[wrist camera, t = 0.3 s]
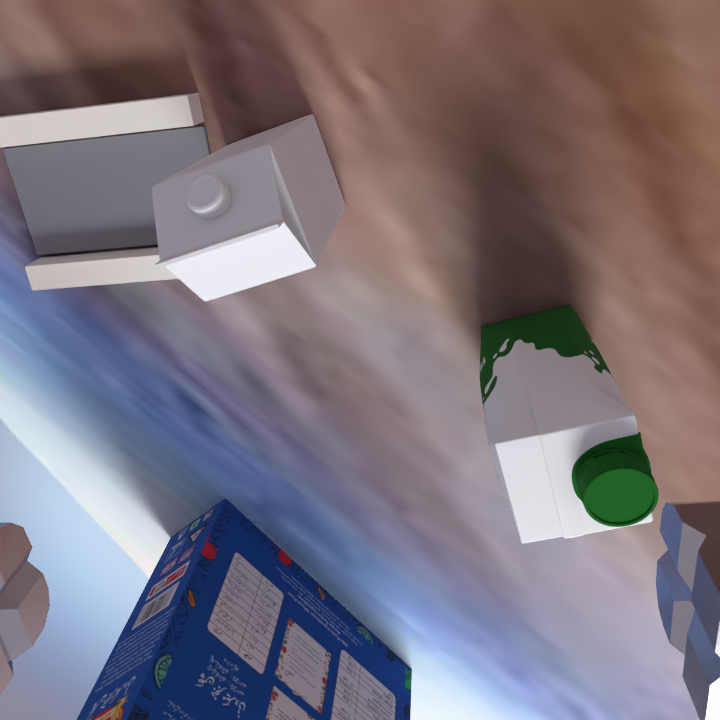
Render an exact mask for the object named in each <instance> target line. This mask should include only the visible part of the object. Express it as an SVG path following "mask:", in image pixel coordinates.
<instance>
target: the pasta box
mask: <svg viewBox="0 0 720 720" xmlns="http://www.w3.org/2000/svg"><path fill="white" fill-rule="evenodd" d="M411 675H412V669H411V668H410V667H408V666H407V665H406V664H405V663H404V662H403V661H402V660H401V659H400V658H399V657H398V656H396V655H395V654H394V653H393V652H392V651H391V650H390V649H389V648H388V647H387V646H386V645H384V644H383V643H382V642H381V641H380V640H379V639H378V638H377V637H376V636H375V635H374V634H372V633H371V632H370V631H369V630H368V629H367V628H366V627H365V626H364V625H363V624H362V623H361V622H359V621H358V620H357V619H356V618H355V617H354V616H353V615H352V614H351V613H350V612H349V611H347V610H346V609H345V608H344V607H343V606H342V605H341V604H340V603H339V602H338V601H337V600H335V599H334V598H333V597H332V596H331V595H330V594H329V593H328V592H327V591H326V590H325V589H323V588H322V587H321V586H320V585H319V584H318V583H317V582H316V581H315V580H314V579H313V578H311V577H310V576H309V575H308V574H307V573H306V572H305V571H304V570H303V569H302V568H301V567H299V566H298V565H297V564H296V563H295V562H294V561H293V560H292V559H291V558H290V557H289V556H288V555H286V554H285V553H284V552H283V551H282V550H281V549H280V548H279V547H278V546H277V545H276V544H274V543H273V542H272V541H271V540H270V539H269V538H268V537H267V536H266V535H265V534H264V533H262V532H261V531H260V530H259V529H258V528H257V527H256V526H255V525H254V524H253V523H252V522H250V521H249V520H248V519H247V518H246V517H245V516H244V515H243V514H242V513H241V512H240V511H238V510H237V509H236V508H235V507H234V506H233V505H232V504H231V503H230V502H229V501H228V500H227V499H224V500H222V501H221V502H220V503H218V504H217V505H216V506H214V507H213V508H211V509H210V510H209V511H207V512H206V513H205V514H203V515H202V516H200V517H199V518H198V519H196V520H195V521H193V522H192V523H191V524H189V525H188V526H187V527H185V528H184V529H182V530H181V531H180V532H178V533H177V534H175V535H174V536H173V537H171V538H170V540H169V542H168V544H167V546H166V548H165V550H164V552H163V554H162V556H161V558H160V560H159V562H158V564H157V565H156V567H155V569H154V571H153V573H152V575H151V577H150V579H149V581H148V583H147V585H146V587H145V589H144V591H143V593H142V594H141V596H140V598H139V601H138V602H137V604H136V606H135V608H134V610H133V612H132V614H131V616H130V618H129V620H128V622H127V623H126V626H125V627H124V629H123V631H122V633H121V635H120V637H119V639H118V641H117V643H116V645H115V647H114V649H113V651H112V652H111V654H110V656H109V658H108V660H107V662H106V664H105V666H104V668H103V670H102V672H101V674H100V676H99V678H98V680H97V681H96V683H95V686H94V687H93V689H92V691H91V693H90V695H89V697H88V699H87V701H86V703H85V705H84V707H83V709H82V710H81V712H80V715H79V716H78V718H77V720H410V706H411Z"/></svg>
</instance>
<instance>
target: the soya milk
mask: <svg viewBox="0 0 720 720" xmlns="http://www.w3.org/2000/svg"><path fill="white" fill-rule="evenodd" d="M480 385H481V394H482V401H483V409H484V416H485V423H486V431H487V438H488V443H489V448H490V451H491V454H492V457H493V461H494V464H495V468H496V471H497V475H498V479H499V481H500V484H501V487H502V490H503V493H504V495H505V498H506V501H507V503H508V506H509V509H510V512H511V514H512V517H513V520H514V523H515V526H516V528H517V531H518V534H519V537H520V540H521V543H529V542H535V541H540V540H546V539H552V538H557V537H563V538H572V537H578V536H582V535H584V534H589V533H594V532H600V531H605V530H611V529H616V528H621V527H627V526H632V525H637V524H643V523H648V522H652V520H653V515H652V511H653V510H654V508H655V507H656V504H657V502H658V495H659V494H658V488H657V485H656V483H655V481H654V478H653V476H652V474H651V467H650V462H649V459H648V456H647V454H646V452H645V450H644V449H643V445H642V439H641V434H640V432H639V433H638V428H637V422H636V416H635V414H634V413H633V412H632V411H631V410H630V409H629V407H628V406H627V404H626V402H625V400H624V398H623V396H622V394H621V392H620V390H619V388H618V387H617V385H616V383H615V381H614V379H613V377H612V375H611V373H610V371H609V369H608V367H607V366H606V364H605V362H604V360H603V358H602V356H601V354H600V352H599V350H598V349H597V347H596V345H595V343H594V342H593V340H592V339H591V337H590V335H589V334H588V332H587V331H586V329H585V327H584V326H583V324H582V323H581V321H580V319H579V318H578V316H577V315H576V313H575V311H574V310H573V308H572V307H571V305H567V306H563V307H559V308H555V309H551V310H547V311H543V312H539V313H535V314H531V315H526V316H522V317H518V318H514V319H510V320H506V321H502V322H498V323H494V324H490V325H486V326H482V331H481V356H480Z"/></svg>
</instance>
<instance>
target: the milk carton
mask: <svg viewBox="0 0 720 720" xmlns="http://www.w3.org/2000/svg"><path fill="white" fill-rule="evenodd" d="M152 196H153V205H154V214H155V223H156V232H157V241H158V250H159V259H160V261H158V262H157V263H156V264H155V265H154V266H153V268H154V269H158V268H161V267H164V266H165V267H166V268H167V269H168V270H170V271H171V272H172V273H173V274H174V275H175V276H176V277H177V278H179V279H180V280H181V281H182V282H183V283H184V284H185V285H187V286H188V287H189V288H190V289H191V290H192V291H193V292H195V293H196V294H197V295H198V296H199V297H200V298H201V299H203V300H204V301H208V300H212V299H215V298H218V297H222V296H225V295H228V294H231V293H234V292H238V291H241V290H244V289H247V288H250V287H254V286H257V285H260V284H263V283H266V282H269V281H273V280H276V279H279V278H282V277H285V276H289V275H292V274H295V273H298V272H301V271H304V270H307V269H310V268H313V267H316V265H317V263H318V261H319V259H320V257H321V255H322V253H323V251H324V249H325V247H326V245H327V243H328V241H329V239H330V237H331V235H332V233H333V231H334V229H335V227H336V225H337V223H338V221H339V219H340V217H341V215H342V213H343V211H344V209H345V207H346V205H345V202H344V199H343V196H342V194H341V191H340V188H339V185H338V182H337V179H336V177H335V174H334V171H333V168H332V165H331V163H330V160H329V157H328V154H327V151H326V149H325V146H324V143H323V140H322V137H321V134H320V132H319V129H318V126H317V123H316V120H315V118H314V115H313V114H311V115H307V116H304V117H302V118H299V119H296V120H293V121H291V122H288V123H285V124H283V125H280V126H277V127H274V128H272V129H269V130H266V131H264V132H261V133H258V134H256V135H253V136H250V137H247V138H245V139H242V140H239V141H237V142H234V143H231V144H229V145H227V146H225V147H223V148H221V149H219V150H218V151H216V152H214V153H212V154H210V155H208V156H206V157H205V158H203V159H201V160H199V161H197V162H195V163H194V164H192V165H190V166H188V167H186V168H184V169H183V170H181V171H179V172H177V173H175V174H173V175H172V176H170V177H168V178H166V179H164V180H163V181H161V182H159V183H157V184H156V185H154V186H153V187H152Z"/></svg>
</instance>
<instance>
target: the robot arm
mask: <svg viewBox="0 0 720 720" xmlns="http://www.w3.org/2000/svg"><path fill="white" fill-rule="evenodd" d="M660 532H661V535H662V537H663V539H664V541H665V544H666V546H667V548H668V551H667V552H666V553H665V554H664V555H663V556H662V557H661V558H660V559H659V560H658V561H657V576H656V588H657V597H658V607H659V611H660V615H661V619H662V623H663V626H664V629H665V631H666V634H667V637H668V639H669V642H670V644H671V645H673V646H674V647H675V648H677V649H678V650H679V651H680V652H682V653H683V654H684V655H685V660H684V669H683V678H684V681H685V683H686V686H687V688H688V691H689V693H690V696H691V698H692V701H693V703H694V706H695V708H696V711H697V714H698V716H699V719H700V720H720V501H703V502H675V503H665V506H664V509H663V511H662V516H661V525H660ZM31 549H32V546H31V544H30V541H29V539H28V537H27V535H26V533H25V531H24V528H23V527H21V526H18V525H16V524H13V523H0V695H1V693H2V692H3V690H4V689H5V687H6V686H7V684H8V683H9V681H10V680H11V678H12V677H13V666H12V660H13V659H15V658H17V657H18V656H19V655H21V654H22V653H24V652H25V651H26V650H28V649H29V648H30V647H32V646H33V645H34V643H35V641H36V640H37V638H38V637H39V635H40V633H41V632H42V630H43V629H44V626H45V622H46V618H47V613H48V610H49V606H50V604H49V592H48V586H47V584H46V581H45V578H44V576H43V573H41V572H40V571H39V570H38V569H37V568H35V567H34V566H33V565H32V564H31V563H29V562H28V561H27V558H28V556H29V554H30V551H31Z"/></svg>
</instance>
